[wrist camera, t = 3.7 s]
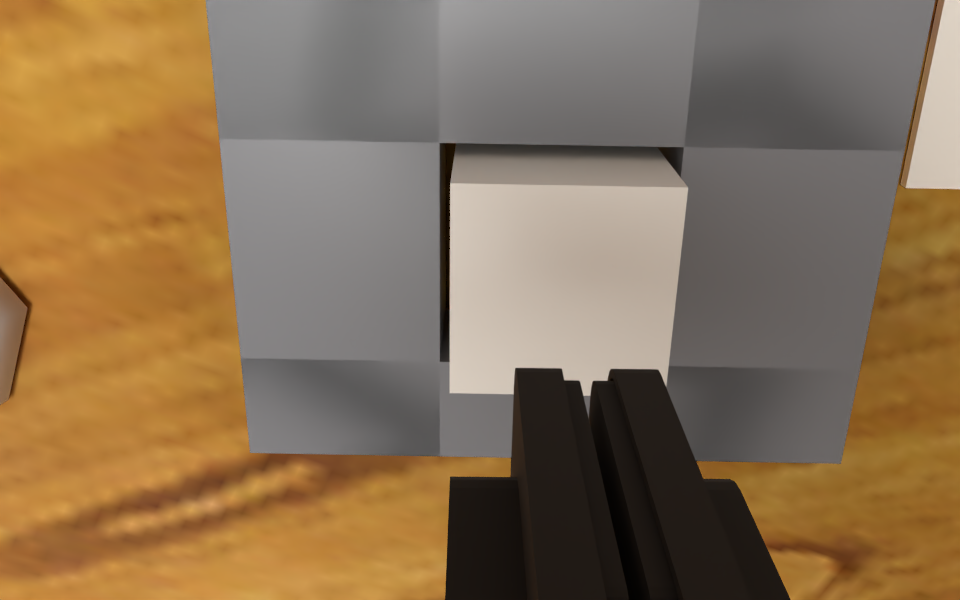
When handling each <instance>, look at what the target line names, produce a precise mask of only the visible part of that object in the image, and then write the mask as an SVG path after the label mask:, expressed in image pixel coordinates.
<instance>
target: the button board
mask: <svg viewBox="0 0 960 600" xmlns="http://www.w3.org/2000/svg"><path fill="white" fill-rule="evenodd" d="M934 4H935V0H206V8H207V18H208V29H209V39H210V49H211V59H212V69H213V79H214V90H215V100H216V110H217V120H218V130H219V140H220V151H221V161H222V171H223V181H224V191H225V202H226V212H227V222H228V232H229V242H230V252H231V263H232V273H233V283H234V293H235V303H236V313H237V324H238V334H239V344H240V354H241V364H242V374H243V385H244V395H245V405H246V415H247V425H248V435H249V446H250V453H288V454H343V455H397V456H452V457H507V458H511V452H512V425H513V397H514V394H468V393H450V309H446V143H475V144H531V145H588V146H644V147H657V148H658V149H659V150H660V152H661V153H662V154H663V156H664V157H665V158H666V159H667V161H668V162H669V163H670V165H671V166H672V167H673V169H674V170H675V171H676V172H677V174H678V175H679V176H680V178H681V179H682V180H683V181H684V183H685V184H686V185H687V187H688V195H687V204H686V213H685V222H684V231H683V240H682V249H681V258H680V267H679V276H678V285H677V294H676V303H675V313H674V322H673V331H672V340H671V349H670V358H669V367H668V376H667V385H666V388H667V391H668V393H669V396H670V398H671V401H672V403H673V406H674V408H675V410H676V413H677V415H678V418H679V420H680V423H681V425H682V428H683V430H684V433H685V435H686V438H687V440H688V443H689V445H690V448H691V450H692V453H693V455H694V458H695V460H696V461H725V462H780V463H834V464H841V460H842V455H843V450H844V445H845V440H846V436H847V431H848V426H849V421H850V416H851V411H852V406H853V401H854V396H855V391H856V386H857V382H858V377H859V372H860V367H861V362H862V357H863V352H864V347H865V342H866V337H867V333H868V328H869V323H870V318H871V313H872V308H873V303H874V298H875V293H876V288H877V283H878V279H879V274H880V269H881V264H882V259H883V254H884V249H885V244H886V239H887V234H888V230H889V225H890V220H891V215H892V210H893V205H894V200H895V195H896V190H897V185H898V181H899V176H900V171H901V166H902V161H903V156H904V151H905V146H906V141H907V136H908V131H909V127H910V122H911V117H912V112H913V107H914V102H915V97H916V92H917V87H918V82H919V78H920V73H921V68H922V63H923V58H924V53H925V48H926V43H927V38H928V33H929V28H930V24H931V19H932V14H933V9H934ZM584 401H585V405H586V409H587V414H588V418H589V407H590V396H584Z"/></svg>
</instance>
